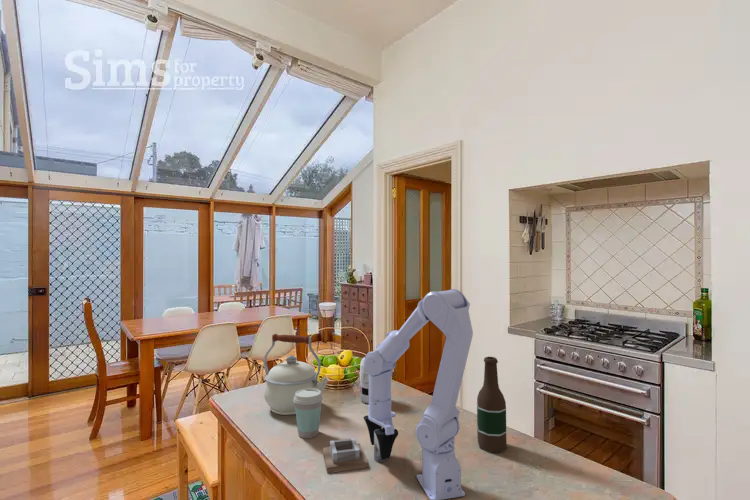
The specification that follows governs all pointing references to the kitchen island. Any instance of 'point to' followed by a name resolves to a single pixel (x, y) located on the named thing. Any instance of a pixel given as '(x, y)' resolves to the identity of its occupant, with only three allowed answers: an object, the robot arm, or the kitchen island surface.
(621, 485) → the kitchen island surface
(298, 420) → the coffee cup
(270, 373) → the kettle
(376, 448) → the shaft
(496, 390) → the beer bottle
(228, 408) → the kitchen island surface
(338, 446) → the block
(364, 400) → the supplement can
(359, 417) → the kitchen island surface
